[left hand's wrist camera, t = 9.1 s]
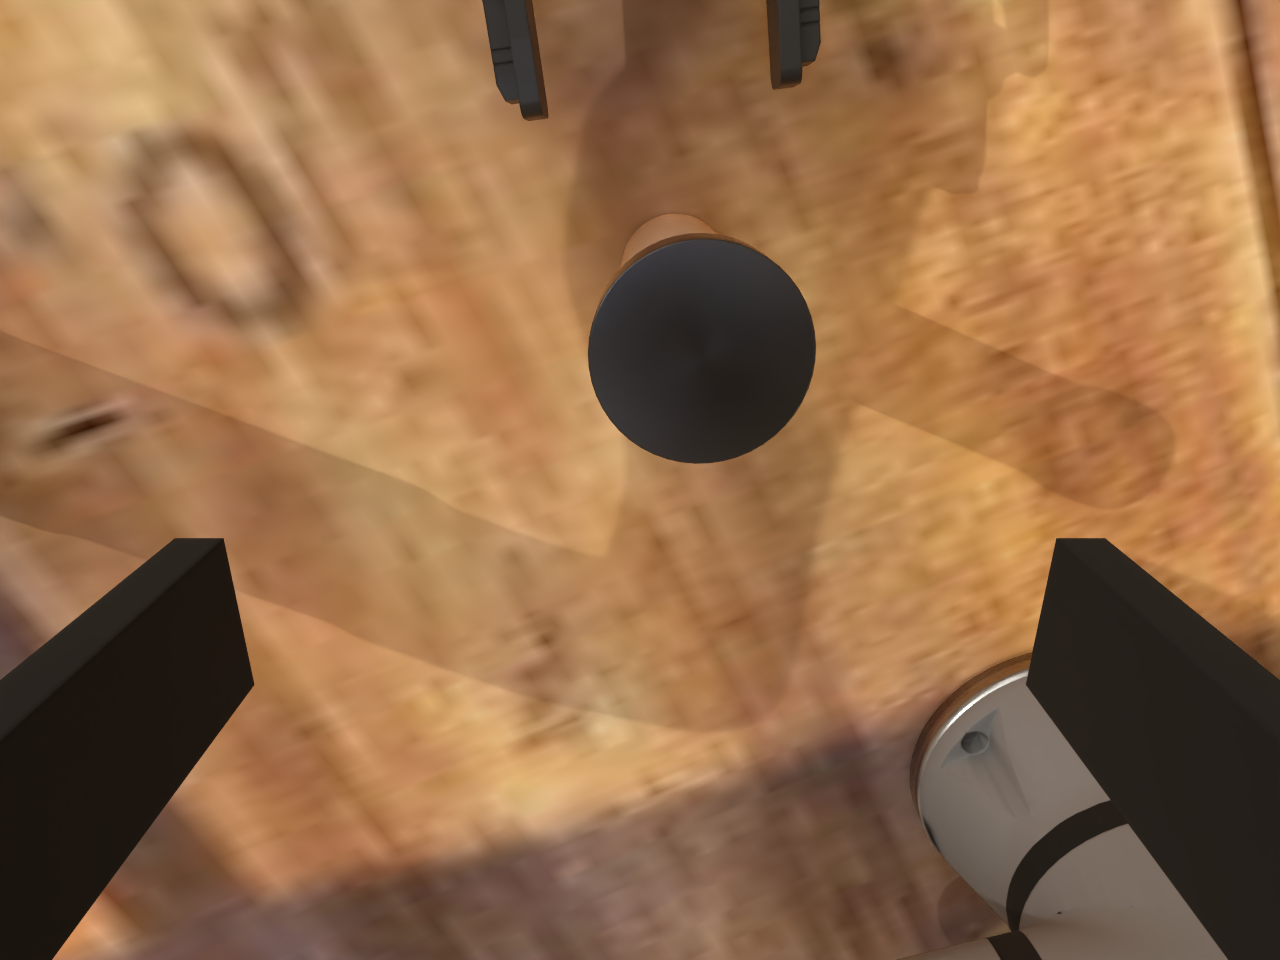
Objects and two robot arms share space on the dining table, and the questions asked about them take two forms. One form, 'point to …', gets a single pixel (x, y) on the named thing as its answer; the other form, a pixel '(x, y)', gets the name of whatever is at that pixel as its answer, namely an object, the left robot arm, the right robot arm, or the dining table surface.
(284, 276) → the dining table surface
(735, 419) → the lid
